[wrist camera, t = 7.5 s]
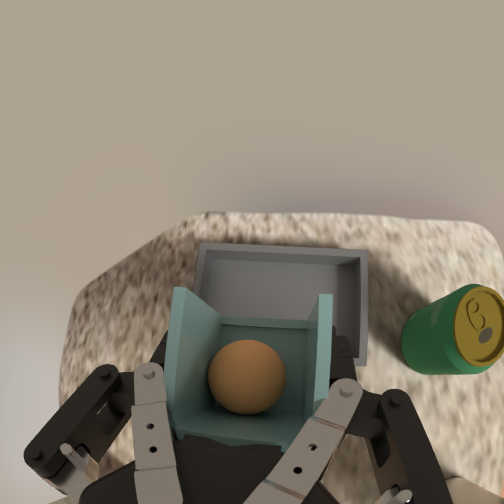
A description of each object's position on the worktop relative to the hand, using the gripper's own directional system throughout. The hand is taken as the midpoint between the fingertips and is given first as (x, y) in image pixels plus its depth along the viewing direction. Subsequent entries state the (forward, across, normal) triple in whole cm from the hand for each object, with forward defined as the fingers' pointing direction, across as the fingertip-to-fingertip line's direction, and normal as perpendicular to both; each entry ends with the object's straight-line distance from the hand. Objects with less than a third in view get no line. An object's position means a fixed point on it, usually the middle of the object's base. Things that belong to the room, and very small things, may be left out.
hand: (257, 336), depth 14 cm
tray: (+16, 0, +10) cm, 19 cm away
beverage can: (+14, -18, +12) cm, 26 cm away
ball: (-1, 0, +2) cm, 2 cm away
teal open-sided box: (+2, 0, +4) cm, 5 cm away
